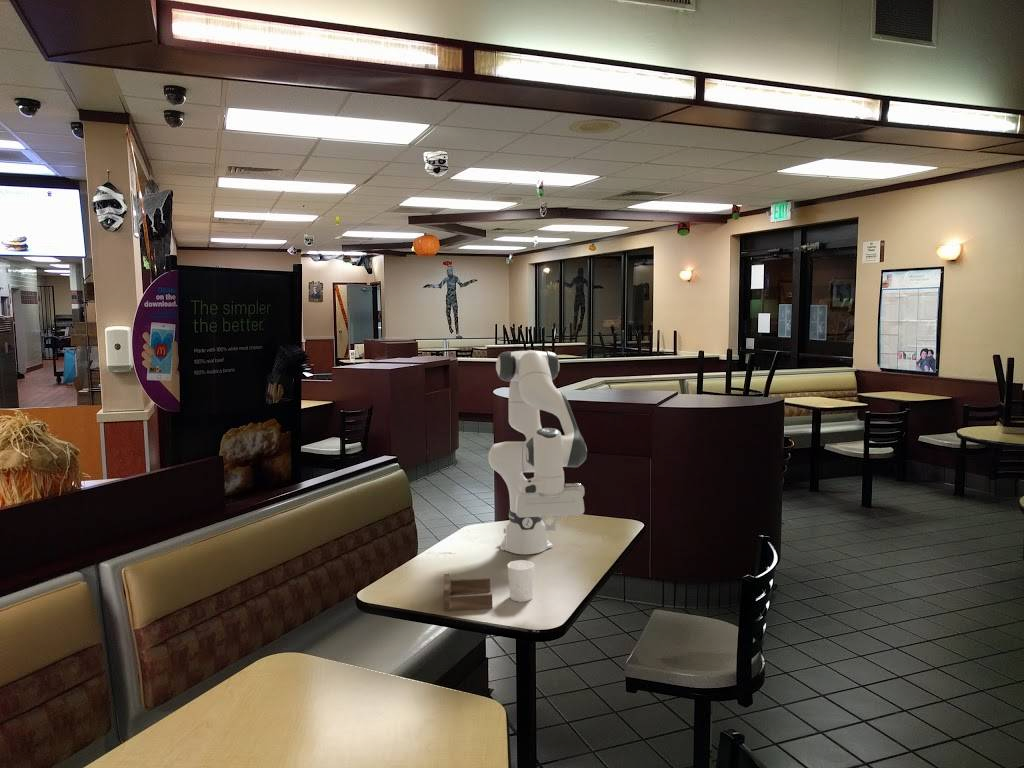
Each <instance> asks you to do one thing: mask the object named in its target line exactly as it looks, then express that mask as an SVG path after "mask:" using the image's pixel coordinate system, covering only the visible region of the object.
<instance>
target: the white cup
mask: <svg viewBox="0 0 1024 768" xmlns="http://www.w3.org/2000/svg"><path fill="white" fill-rule="evenodd" d="M506 566H507V575H508V576H507V579H508V588H509V589H508V590H509V598H510V599H511V601H514V602H519V603H523V602H524V603H525V602H528V601H530V600H532V599H533V597H534V584H535V583H534V582H535V580H534V579H535V564H534V562H532V561H529V560H525V559H524V560H523V559H519V560H518V559H517V560H513V561H510V562H509V563H507V565H506Z"/></svg>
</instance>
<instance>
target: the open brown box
mask: <svg viewBox="0 0 1024 768" xmlns="http://www.w3.org/2000/svg"><path fill="white" fill-rule="evenodd" d="M443 575H444V576H443V607H444V609H443V611H444V612H450V611H451V610H454V611H467V610H468V611H469V610H486V609H493V606H494V605H493V593H491V578H490V577H482V578H481V577H479V578H477V577H476V578H463V579H462V578H461V579H460V578H459V579H450V578H451V577H450V573H444V574H443ZM489 592H490V593H489ZM473 593H474V594H473ZM457 594H459V595H457Z"/></svg>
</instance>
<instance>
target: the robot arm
mask: <svg viewBox="0 0 1024 768" xmlns="http://www.w3.org/2000/svg"><path fill="white" fill-rule="evenodd" d="M495 371H496V373H497V376H498V378H499V379H500V380H501V381H504V382H509V390H508V424H509V425H510V426H511V428H513V429H514V431H515V430H516V431H517V432H519V433H522V435H524V436H525V440H524V441H503V442H498V443H494V444H492V446H491V448H489V451H488V456H487V459H488V464H489V465H490V467H491V468H492V469H493V471H495V472H497V473H498V474H499V475H500V477H502V479H503V480H504V482H505V484H506V486H507V490H508V494H509V495H508V496H509V510H508V520H509V522H508V523H507V525H506V526H504V527H503V534H505V535H504V537H503V539H502V542H501V545H500V549H501V551H504V550H505V552H510V553H512V554H517V555H534V554H539V553H542V552H544V551H546V550H547V549H551V548H553V543H552V542H550V541H549V539H548V532H551V531H556V526H557V524H558V522H559V521H560V516H580V515H583V514H584V513H585V502H584V498H583V497H584V496H585V487H584V485H582V484H581V483H579V482H573V483H572V482H570V483H569V482H568V483H567V482H566V483H565V471H564V468H579V467H580V466H581V465H582V464H583V463H584V462H585V461H586V460H587V457H588V455H587V454H588V449H587V444H586V442H585V440H584V437H583V436H582V434H581V432H580V429H579V427H578V424H577V421H576V418H575V416H574V413H573V411H572V408H571V405H570V403H569V401H568V398H567V397H566V396H567V395H565V393H563V392H561V391H560V390H559V389H558V388H557V387H556V386H555V385H554V383H553V380H555V379H556V378H557V377H558V374H559V372H560V362H559V357H558V355H557V354H556V353H555V352H552V351H548V350H545V351H543V350H542V351H541V350H532V349H528V350H516V351H515V350H514V351H510V350H508V351H503V352H501V353H500V354H499V355H498V356H497V360H496V362H495ZM540 411H544V412H546V413H550V414H553V416H555V417H557V419H558V420H559V422H560V426H561V429H562V430H563V433H564V434H562V432H561V431H560V430H559V429H557V428H552V427H544V428H543V427H542V423H541V416H540V414H541V412H540ZM524 473H533V477H531V478H526V476H525V475H524ZM548 517H553V519H554V520H553V521H552V522H551V523H547V521H546V520H547V518H548ZM500 549H499V550H500Z"/></svg>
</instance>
